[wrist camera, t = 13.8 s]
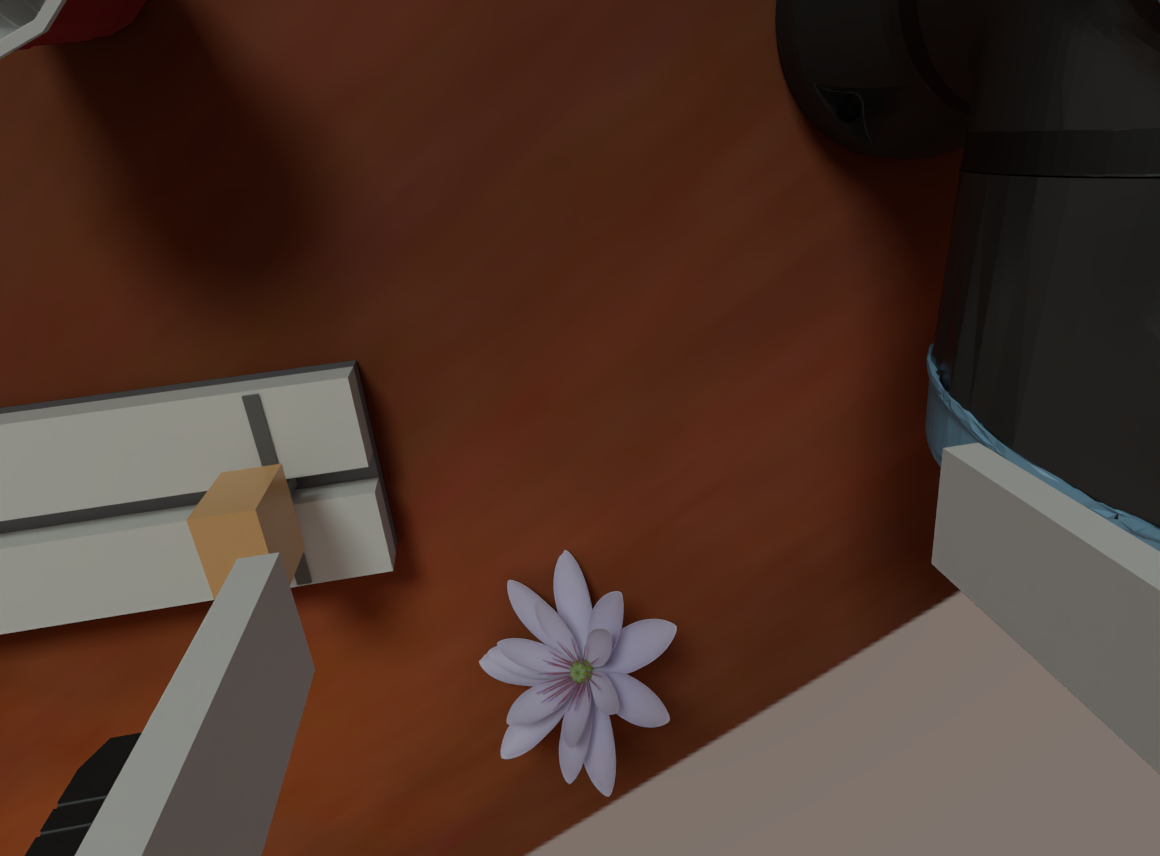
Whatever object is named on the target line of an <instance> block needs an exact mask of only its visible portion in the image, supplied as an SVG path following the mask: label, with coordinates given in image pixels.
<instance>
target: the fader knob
mask: <svg viewBox="0 0 1160 856" xmlns="http://www.w3.org/2000/svg"><path fill="white" fill-rule="evenodd" d="M296 486H297V481H296V478H290V479H286V477H285V474H284V470H283V467H282V464H276V465H269V466H262V467H255V468H248V469H241V470H235V471H228V472H221V473H220V475H219V476H218V478H217V479H216V480H215V482H214V483H213V484H212V486H211V487H210V488H209V490H208V491H207V493H206V494H205V495H204V497H203V498H202V499H201V501H200V502H199V503H198V505H197V506H196V507H195V509H194V510H193V512H192V513H191V514H190V516H189V517H188V518H187V520H186V521H187V524H188V527H189V529H190V532H191V535H192V538H193V541H194V544H195V546H196V549H197V552H198V555H199V558H200V561H201V564H202V566H203V569H204V572H205V575H206V578H207V581H208V583H209V586H210V589H211V592H212V595H213V598H214V600H215V599H216V597H217V595H218V593H219V591H220V589H221V588H222V586H223V584H224V582H225V580H226V578H227V577H228V575H229V573H230V571H231V569H232V567H233V566H234V564H235V562H236V560H237V559H239V558H246V557H252V556H258V555H265V554H271V553H278V552H280V555H281V558H282V562H283V565H284V568H285V572H286V575H287V578H288V582H289V585H291V582H292V580H293V577H294V575H295V572H296V570H297V567H298V565H299V562H300V559H301V557H302V554H303V552H304V549H305V544H304V541H303V537H302V533H301V530H300V526H299V523H298V519H297V516H296V512H295V509H294V505H293V502H292V498H291V496H292V494H293V492H294V490H295V488H296Z"/></svg>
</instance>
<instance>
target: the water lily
mask: <svg viewBox="0 0 1160 856" xmlns="http://www.w3.org/2000/svg"><path fill="white" fill-rule="evenodd" d="M507 590H508V595H509V599H510V602H511V604H512V606H513V609H514V610H515V612H516V614H517V615H518V617H519V618H520V620H521V621H522V622H523V624H524V625H525V626H526V627H527V628H528V629H529V630H530V631H531V632H532V633H533V634H534V635H535V636H536V637H537V638H538V639H539V640H541V641H542V642H543V643H545V644H546V645H545V644H542V643H539V642H535V641H532V640H528V639H521V638H510V639H504V640H501V641H499V642H498V643H497V646H496V647H494V648H492V649H490V650H489V651H488V653H487V654H485V655H484V656H483V658H482V659H481V660H480V661H479V663H480V666H481V667H482V668H483V670H484V671H485V672H487V673H488V674H489V675H490V676H492V677H494V678H496V679H498V680H500V681H502V682H506V683H510V684H515V685H523V686H533V687H532V688H530V689H529V690H527V691H526V692H524V693H523V694H522V695H521V696H520V697H519V698H518V699H517V700H516V701H515V702H514V704H513V705H512V707H511V709H510V711H509V713H508V716H507V724H509V725H510V726H509V727H508V729H507V731H506V733H505V736H504V738H503V741H502V745H501V758H503V759H511V758H515V757H518V756H520V755H522V754H524V753H526V752H527V751H529V750H530V749H532V748H533V747H534V746H536V745H537V744H538V743H539V742H540V741H541V740H542V739H543V738H544V737H545V736H546V735H547V734H548V733H549V732H550V731H551V730H552V729H553V728H554V727H555V726H556V724H557V723H558V722H559V721H560V719H561V718H562V716H563V715H564V717H563V722H562V730H561V735H560V742H559V761H560V767H561V771H562V774H563V776H564V778H565V780H566V782H567V783H568V784H571V783H572V782H573V781H574V780H575V778H576V777H577V775H578V774H579V772H580V770H581V768H582V765H583V763H584V765H585V768H586V771H587V773H588V775H589V777H590V779H591V781H592V782H593V784H594V785H595V787H596V788H597V789H598V790H599V791H600V792H601V793H602V794H603V795H605V796H607V797H609V796H610V795H611V793H612V790H613V787H614V781H615V774H616V753H615V742H614V735H613V730H612V725H611V721H610V717H609V715H612V714H617V715H618V716H620V717H621V718H623V719H625V720H626V721H628V722H630V723H632V724H635V725H638V726H642V727H652V728H653V727H659V726H662V725H665V724H667V723H668V722H669V721H670V717H669V714H668V712H667V710H666V708H665V706H664V705H663V703H662V702H661V700H660V699H659V698H658V697H657V695H656V694H655V693H654V692H653V691H652V690H650V689H649V688H648V687H647V686H646V685H644V684H643V683H641V682H640V681H638V680H637V679H635V678H633V677H631V676H629V675H627V674H628V673H631V672H634V671H636V670H638V669H640V668H642V667H644V666H646V665H648V664H649V663H651V662H652V661H654V660H655V659H656V658H658V657H659V656H660V655H661V654H662V653H663V652H664V651H665V650H666V649H667V648H668V646H669V645H670V643H671V642H672V640H673V638H674V636H675V634H676V630H677V627H676V626H675V625H674V624H673V623H671V622H669V621H666V620H660V619H647V620H641V621H637V622H635V623H632V624H630V625H628V626H626V627H624V628H622V624H623V612H624V604H623V596H622V594H621V592H619V591H614V592H610V593H608V594H606V595H604V596H603V597H602V598H601V599H600V600H599V601H598V602H597V603H596V605H595V606H594V608H593V609H592V603H591V599H590V594H589V591H588V587H587V584H586V581H585V579H584V576H583V574H582V571H581V569H580V567H579V565H578V563H577V562H576V560H575V559H574V557H573V556H572V555H571V554H570V553H569V552H568V551H566V550H564V552H563V554H562V555H561V556H560V557H559V559H558V561H557V564H556V567H555V572H554V597H555V603H556V607H557V611H558V613H557V612H556V611H555V610H554V609H553V608H552V607H551V606H549V605H548V604H547V603H546V602H545V601H544V600H543V599H542V598H541V597H540V596H538V595H537V594H536V593H535V592H533V591H532V590H531V589H529V588H528V587H526V586H525V585H523V584H521V583H519V582H516V581H514V580H508V583H507ZM564 713H565V714H564Z"/></svg>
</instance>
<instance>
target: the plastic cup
mask: <svg viewBox="0 0 1160 856" xmlns="http://www.w3.org/2000/svg"><path fill="white" fill-rule="evenodd" d="M146 1H147V0H0V59H1V58H3V57H5V56H7V55H8V54H10V53H12V52H14V51H16V50H21V49H29V48H31V47H33V46H37V45H48V44H59V43H70V42H80V41H88V40H90V39H92V38H94V37H104V36H111V35H112V34H114V33H116V32H117V31H119V30H121V29H122V28H124V27H126V26H128V25H129V24H131V23H132V22H133V21H134V20H135V19H136V17H137V16H138V14H139V12H140V11H141V9H142V7H143V6H144V4H145V2H146Z"/></svg>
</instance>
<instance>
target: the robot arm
mask: <svg viewBox="0 0 1160 856" xmlns="http://www.w3.org/2000/svg"><path fill="white" fill-rule="evenodd" d="M776 34H777V43H778V49H779V55H780V59H781V64H782V67H783V70H784V74H785V77H786V79H787V82H788V84H789V87H790V89H791V91H792V93H793V95H794V97H795V99H796V101H797V102H798V104H799V106H800V107H801V109H802V110H803V112H804V113H805V114H806V116H807V117H808V118H809V119H810V120H811V122H812V123H813V124H814V125H815V126H816V127H817V128H818V129H819V130H820V131H822V132H823V133H824V134H825V135H826V136H828V137H829V138H830V139H832V140H833V141H835V142H836V143H838V144H840V145H841V146H843V147H846V148H848V149H850V150H852V151H855V152H858V153H861V154H864V155H869V156H874V157H882V158H900V159H915V158H925V157H932V156H936V155H940V154H944V153H948V152H951V151H954V150H957V149H960V148H962V147H964V153H963V160H962V166H961V169H960V174H959V180H958V187H957V194H956V200H955V207H954V214H953V220H952V227H951V234H950V240H949V247H948V254H947V260H946V267H945V274H944V280H943V287H942V294H941V300H940V307H939V314H938V320H937V327H936V334H935V340H934V343H933V344H931V345H930V347H929V350H928V353H927V364H926V366H927V371H928V375H929V387H928V399H927V412H926V423H925V431H926V438H927V443H928V446H929V449H930V451H931V453H932V455H933V457H934V459H935V460H936V462H937V463H938V464H939V466H940V467H941V473H940V483H939V493H938V503H937V512H936V522H935V532H934V542H933V552H932V562H931V564H933V565H934V566H935V567H936V568H937V569H938V570H939V571H940V572H941V573H942V574H943V575H944V576H946V577H947V578H948V579H949V580H950V581H951V582H952V583H953V584H954V585H955V586H956V587H957V588H958V589H960V590H961V591H962V592H963V593H964V594H965V595H966V596H967V597H968V598H969V599H971V600H972V601H973V602H974V603H975V604H976V605H977V606H978V607H979V608H980V609H981V610H982V611H984V613H986V614H987V615H988V616H989V617H990V618H991V619H992V620H993V621H994V622H995V623H996V624H998V625H999V626H1000V627H1001V628H1002V629H1003V630H1004V631H1005V632H1006V633H1007V634H1008V635H1010V636H1011V637H1012V638H1013V639H1014V640H1015V641H1016V642H1017V643H1018V644H1019V645H1020V646H1021V647H1023V649H1025V650H1026V651H1027V652H1028V653H1029V654H1030V655H1031V656H1032V657H1033V658H1034V659H1036V661H1038V662H1039V663H1040V664H1041V665H1042V666H1043V667H1044V668H1045V669H1046V670H1047V671H1048V672H1049V673H1051V674H1052V675H1053V676H1054V677H1055V678H1056V679H1057V680H1058V681H1059V682H1060V683H1061V684H1062V685H1064V686H1065V687H1066V688H1067V689H1068V690H1069V691H1070V692H1071V693H1072V694H1073V695H1075V697H1077V698H1078V699H1079V700H1080V701H1081V702H1082V703H1083V704H1084V705H1085V706H1086V707H1087V708H1089V709H1090V710H1091V711H1092V712H1093V713H1094V714H1095V715H1096V716H1097V717H1098V718H1099V719H1100V720H1101V721H1103V722H1104V723H1105V724H1106V725H1107V726H1108V727H1109V728H1110V729H1111V730H1112V731H1113V732H1114V733H1115V734H1117V735H1118V736H1119V737H1120V738H1121V739H1122V740H1123V741H1124V742H1125V743H1126V744H1127V745H1129V746H1130V747H1131V748H1132V749H1133V750H1134V751H1135V752H1136V753H1137V754H1138V755H1139V756H1140V757H1141V758H1143V759H1144V760H1145V761H1146V762H1147V763H1148V764H1149V765H1150V766H1151V767H1152V768H1153V769H1154V770H1156V771H1157V772H1158V773H1159V774H1160V0H777V2H776ZM314 671H315V668H314V665H313V661H312V658H311V655H310V651H309V648H308V645H307V641H306V638H305V635H304V631H303V628H302V625H301V621H300V618H299V615H298V611H297V608H296V605H295V601H294V598H293V595H292V592H291V588H290V585H289V582H288V578H287V575H286V572H285V568H284V565H283V562H282V558H281V555H280V552H278V553H271V554H265V555H258V556H252V557H246V558H239V559H237V560H236V562H235V564H234V566H233V567H232V569H231V571H230V573H229V575H228V577H227V578H226V580H225V582H224V584H223V586H222V588H221V589H220V591H219V593H218V595H217V597H216V599H215V600H214V602H213V604H212V606H211V608H210V609H209V611H208V613H207V615H206V617H205V619H204V620H203V622H202V624H201V626H200V628H199V630H198V631H197V633H196V635H195V637H194V639H193V641H192V642H191V644H190V646H189V648H188V650H187V651H186V653H185V655H184V657H183V659H182V661H181V662H180V664H179V666H178V668H177V670H176V672H175V673H174V675H173V677H172V679H171V681H170V682H169V684H168V686H167V688H166V690H165V692H164V693H163V695H162V697H161V699H160V701H159V703H158V704H157V706H156V708H155V710H154V712H153V714H152V715H151V717H150V719H149V721H148V723H147V724H146V726H145V728H144V730H143V732H142V733H137V734H131V735H125V736H120V737H114V738H110V739H109V740H108V741H107V742H106V743H105V744H104V745H103V746H102V747H101V748H100V749H99V750H98V751H97V752H96V753H94V754H93V755H92V756H91V757H90V758H89V759H88V760H87V761H86V762H85V763H84V764H83V765H82V766H81V767H80V768H79V769H78V770H77V772H76V773H75V775H74V777H73V778H72V780H71V782H70V783H69V785H68V786H67V788H66V790H65V791H64V793H63V795H62V796H61V798H60V799H59V801H58V807H57V809H53V811H52V812H51V814H50V816H49V817H48V819H47V820H46V822H45V824H44V825H43V827H42V829H41V830H40V831H41V835H40V837H37V838H35V840H34V841H33V843H32V845H31V846H30V848H29V850H28V851H27V853H26V854H25V856H261V855H262V852H263V848H264V845H265V841H266V838H267V834H268V831H269V828H270V824H271V821H272V817H273V814H274V810H275V807H276V803H277V800H278V796H279V793H280V789H281V786H282V782H283V779H284V776H285V772H286V769H287V765H288V762H289V758H290V755H291V751H292V748H293V744H294V741H295V737H296V734H297V730H298V727H299V723H300V720H301V717H302V713H303V710H304V706H305V703H306V699H307V696H308V692H309V689H310V685H311V682H312V678H313V675H314Z"/></svg>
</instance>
